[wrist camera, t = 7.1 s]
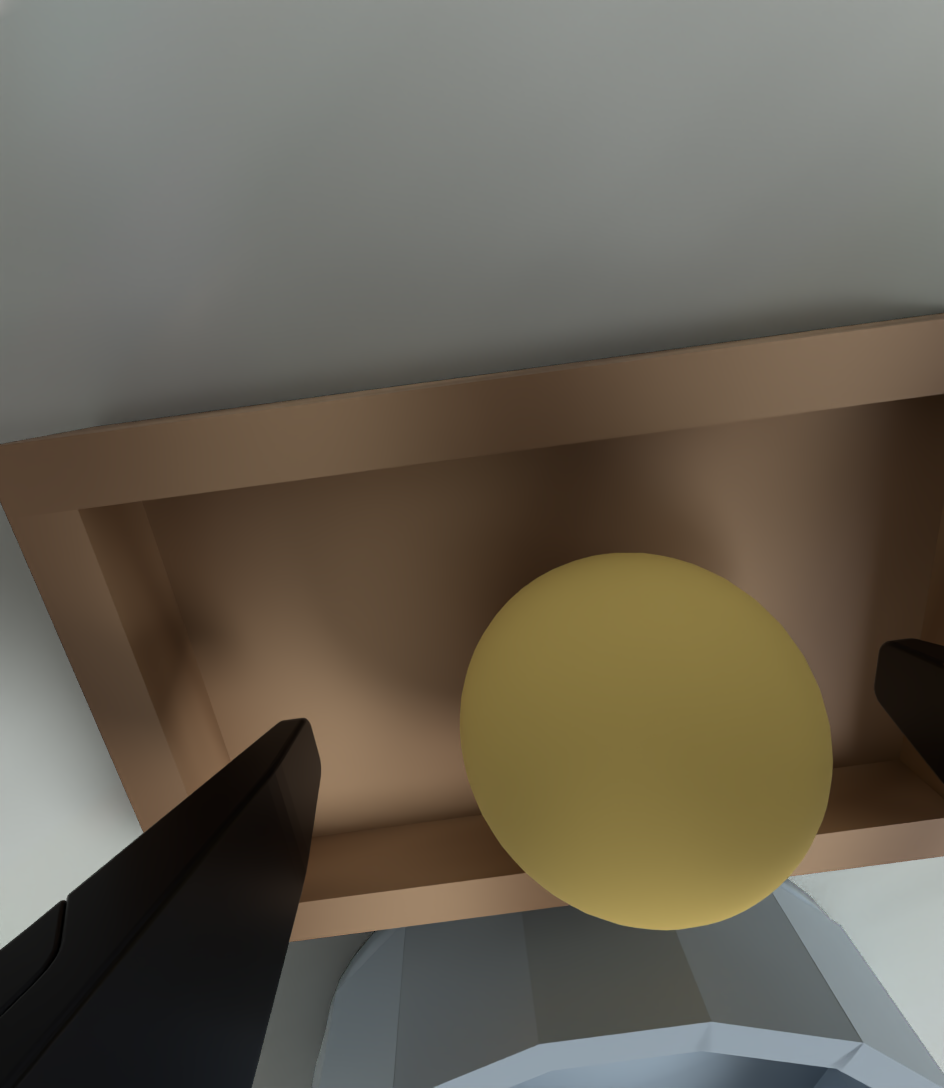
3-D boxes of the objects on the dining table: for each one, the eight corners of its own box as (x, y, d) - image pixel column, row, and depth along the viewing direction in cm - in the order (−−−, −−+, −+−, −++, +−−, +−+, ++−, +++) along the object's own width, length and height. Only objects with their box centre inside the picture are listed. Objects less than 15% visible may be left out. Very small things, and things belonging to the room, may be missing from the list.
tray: (979, 307, 10) (1155, 290, 7) (901, 758, 13) (1004, 848, 10) (94, 426, 10) (-22, 448, 7) (242, 844, 13) (196, 954, 10)
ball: (685, 493, 10) (986, 603, 5) (683, 719, 11) (911, 958, 7) (417, 543, 9) (483, 726, 4) (456, 777, 11) (535, 1094, 6)
